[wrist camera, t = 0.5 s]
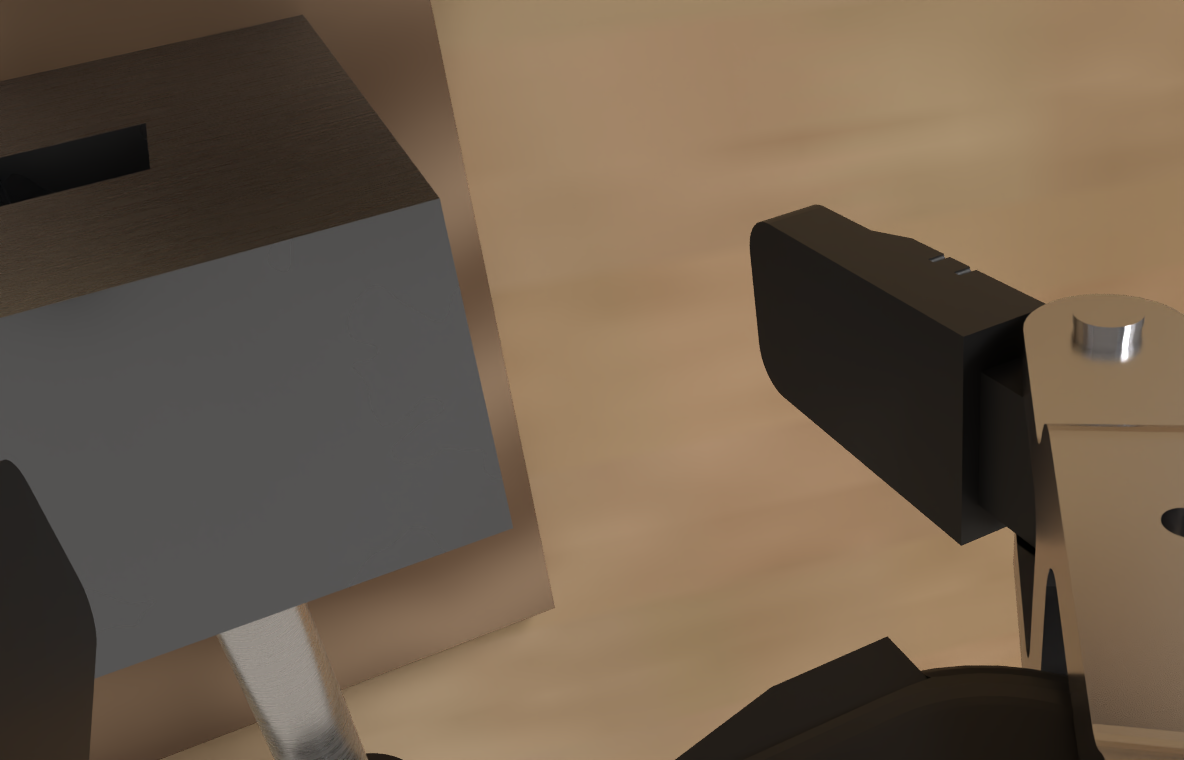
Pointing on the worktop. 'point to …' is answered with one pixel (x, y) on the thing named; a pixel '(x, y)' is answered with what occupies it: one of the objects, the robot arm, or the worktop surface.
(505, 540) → the base board
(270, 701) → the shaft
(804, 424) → the worktop surface
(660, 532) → the worktop surface
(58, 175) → the housing
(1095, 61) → the worktop surface
